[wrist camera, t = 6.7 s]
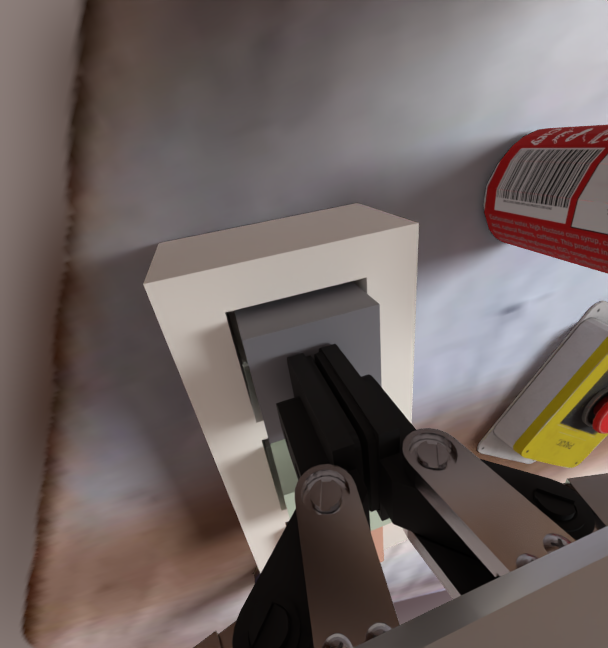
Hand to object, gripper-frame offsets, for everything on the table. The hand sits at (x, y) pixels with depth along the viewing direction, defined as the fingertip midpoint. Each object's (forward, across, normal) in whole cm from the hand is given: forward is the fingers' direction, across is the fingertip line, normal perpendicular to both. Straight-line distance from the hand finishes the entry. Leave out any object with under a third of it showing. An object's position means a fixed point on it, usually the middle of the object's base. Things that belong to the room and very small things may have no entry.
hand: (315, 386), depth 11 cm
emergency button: (+7, -22, +14) cm, 27 cm away
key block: (+7, 0, +6) cm, 9 cm away
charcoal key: (+4, 0, 0) cm, 4 cm away
